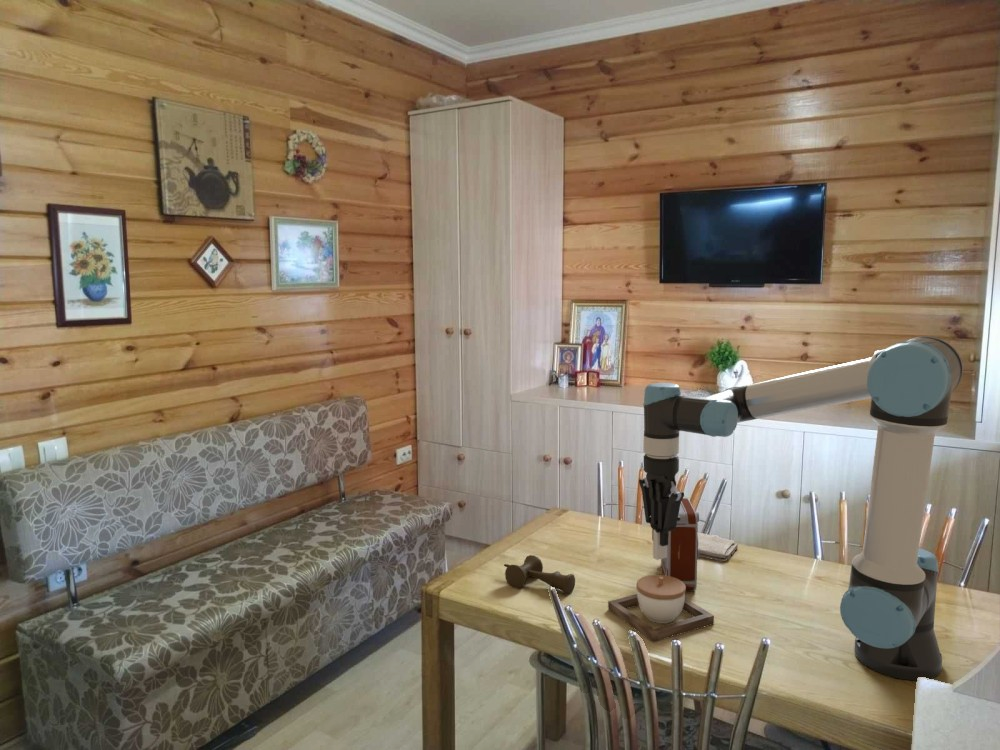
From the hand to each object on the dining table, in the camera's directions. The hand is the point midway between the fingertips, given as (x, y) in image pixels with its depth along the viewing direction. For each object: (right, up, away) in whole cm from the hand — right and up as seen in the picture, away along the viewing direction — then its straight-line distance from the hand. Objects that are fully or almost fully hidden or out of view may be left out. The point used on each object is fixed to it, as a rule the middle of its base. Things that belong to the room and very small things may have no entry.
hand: (660, 557), depth 160 cm
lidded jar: (+1, -14, +2) cm, 14 cm away
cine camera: (+9, -11, +23) cm, 27 cm away
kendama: (-26, -12, +20) cm, 35 cm away
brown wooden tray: (0, -14, +2) cm, 14 cm away
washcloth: (+20, -8, +40) cm, 45 cm away
